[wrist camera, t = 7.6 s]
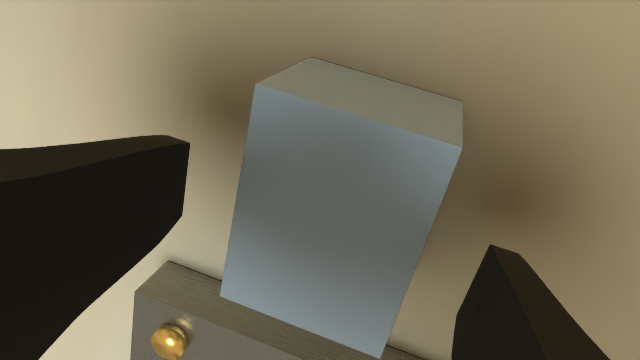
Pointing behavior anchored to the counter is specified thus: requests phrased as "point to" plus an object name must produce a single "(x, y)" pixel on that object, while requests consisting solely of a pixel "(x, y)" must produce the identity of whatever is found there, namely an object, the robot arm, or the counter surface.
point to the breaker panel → (220, 326)
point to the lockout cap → (338, 198)
